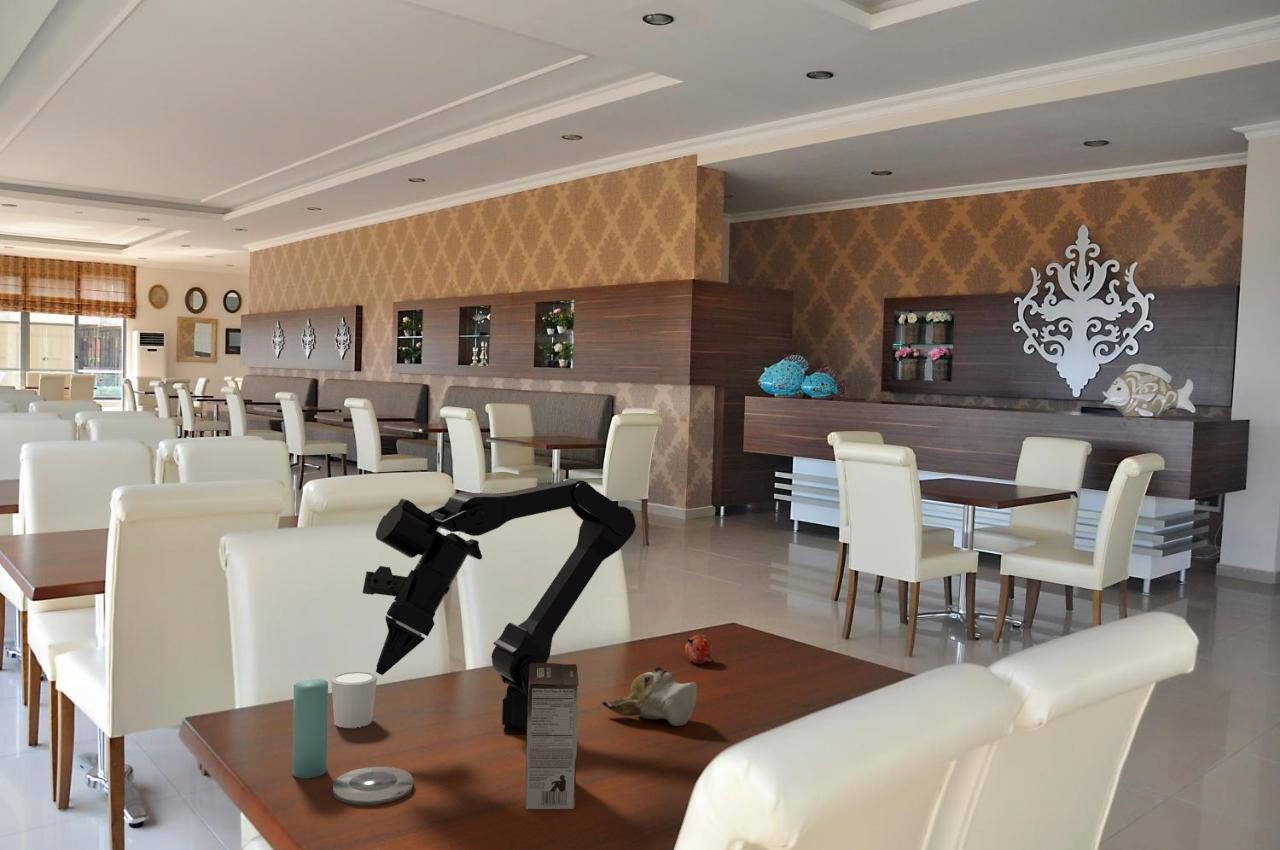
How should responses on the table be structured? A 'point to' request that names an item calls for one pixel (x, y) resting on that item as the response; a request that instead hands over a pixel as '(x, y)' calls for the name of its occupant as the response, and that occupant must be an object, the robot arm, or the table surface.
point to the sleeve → (310, 728)
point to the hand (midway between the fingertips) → (379, 671)
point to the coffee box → (552, 736)
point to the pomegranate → (698, 648)
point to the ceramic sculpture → (657, 698)
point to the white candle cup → (353, 698)
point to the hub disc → (372, 785)
